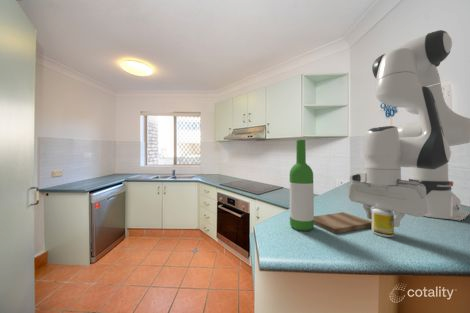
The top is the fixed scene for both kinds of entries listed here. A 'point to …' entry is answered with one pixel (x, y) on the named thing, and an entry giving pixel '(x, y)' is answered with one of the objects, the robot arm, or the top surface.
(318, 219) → the walnut board
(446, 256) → the top surface
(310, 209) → the wine bottle
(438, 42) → the robot arm
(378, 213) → the supplement bottle
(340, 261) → the top surface
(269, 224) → the top surface
